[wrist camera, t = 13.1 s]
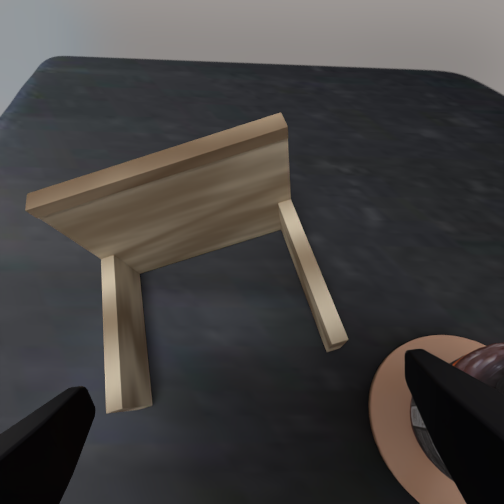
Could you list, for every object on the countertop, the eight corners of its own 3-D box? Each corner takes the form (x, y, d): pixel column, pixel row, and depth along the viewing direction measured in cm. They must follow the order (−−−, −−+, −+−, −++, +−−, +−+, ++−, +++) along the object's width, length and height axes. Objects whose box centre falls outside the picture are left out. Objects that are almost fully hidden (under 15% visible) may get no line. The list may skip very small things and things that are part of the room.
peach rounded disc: (545, 572, 15) (560, 584, 14) (348, 465, 18) (350, 469, 17) (558, 377, 18) (571, 376, 17) (390, 314, 21) (394, 311, 20)
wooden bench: (340, 348, 21) (375, 311, 11) (139, 409, 21) (1, 426, 11) (288, 215, 26) (280, 112, 16) (127, 266, 26) (27, 193, 16)
